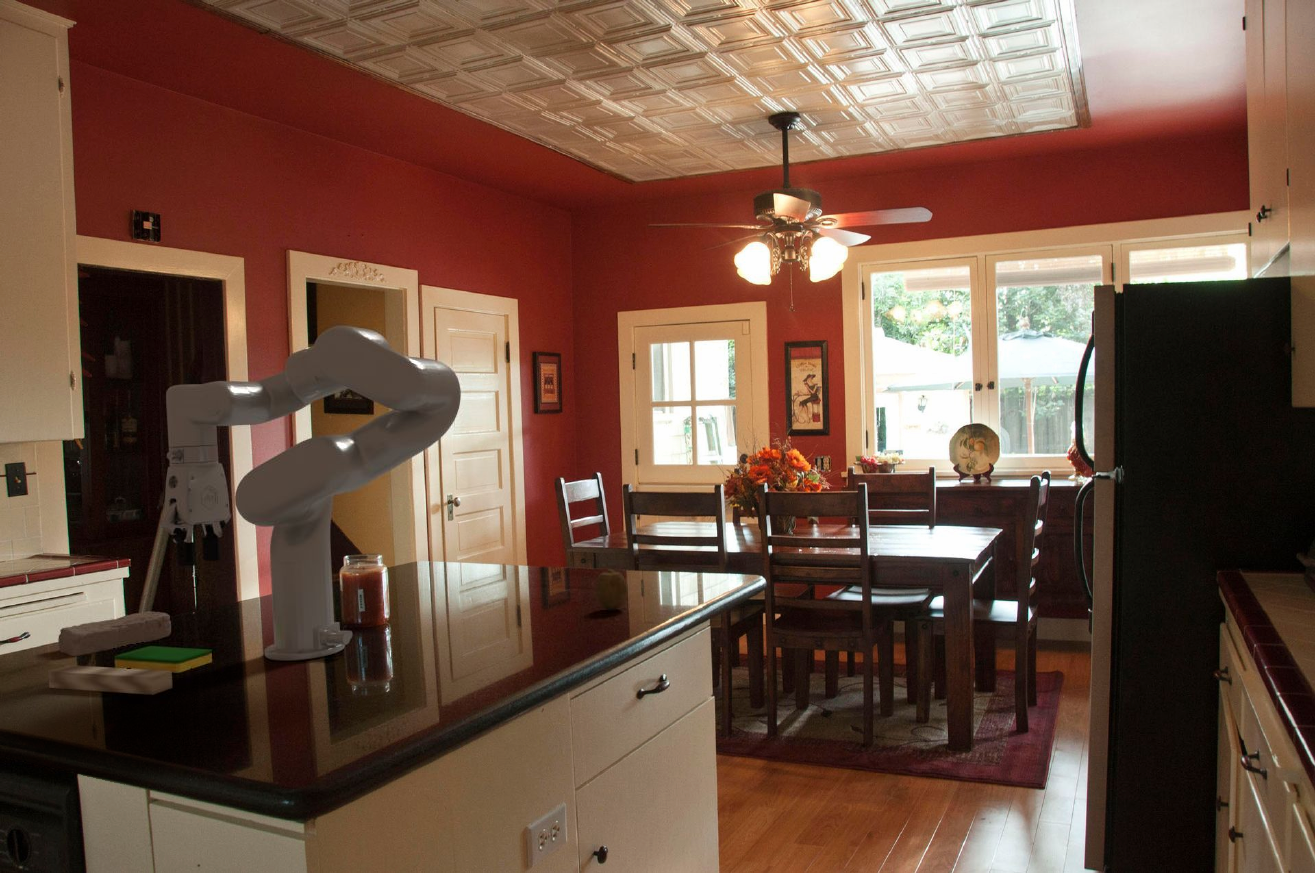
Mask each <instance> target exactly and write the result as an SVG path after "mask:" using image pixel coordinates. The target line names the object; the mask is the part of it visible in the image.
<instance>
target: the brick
mask: <svg viewBox="0 0 1315 873" xmlns="http://www.w3.org/2000/svg"><path fill="white" fill-rule="evenodd" d="M170 618H171V617H170V615H169V614H168V613H166V612H160V611H143V612H138V613H131V614H128V615H124V616H121V617H117V618H115V619H114V618H113V619H112V618H111V619H107V620H101V621H91V622H85V623H81V624H78V625H72V626H66V627H63V628H61V629H60V632H59V633H60V634H59V635H58V639H57V641H58V642H57V643H58V649H59V651H60V652H61V653H64V654H67V655H68V656H71V657H80V656H83V655H90V654H95V653H98V652H99V653H100V652H103V651H109V650H114V649H113V648H115V649H119V648H122V647H121V646H125V647H127V646H126V645H129V644H133V645H137V644H136V643H140V644H142V643H141V642H144V643H148V642H154V641H158V640H161V639H163V638H166V637H169V636H170V635H171V632H172V623H171V622H172V621H171V620H170ZM153 640H154V641H153ZM118 647H119V648H118Z"/></svg>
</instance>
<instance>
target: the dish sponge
mask: <svg viewBox="0 0 1315 873" xmlns="http://www.w3.org/2000/svg"><path fill="white" fill-rule="evenodd" d="M212 657H213V655H212V649H204V648H203V649H202V648H189V647H188V648H186V647H185V648H184V647H171V646H154V645H149V646H145V647H141V648H139V649H135V650H131V651H127V652H123V653H121V654H117V655H114V668H131V669H144V670H162V671H172V673H174V674H177V673H182V672H185V671H188V670H191V668H192V669H195V668H198V667H200V666H204V665H206V664H207V665H208V664H210V663H212V662H213V658H212Z"/></svg>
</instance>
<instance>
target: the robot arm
mask: <svg viewBox="0 0 1315 873" xmlns="http://www.w3.org/2000/svg"><path fill="white" fill-rule="evenodd" d="M459 380H460V379H459V378H458V376H457V374H456V373H455V371H454V370H453V369H452V368H451V367H450V366H448V365H447V364H445V363H443V362H441V361H439V360H437V359H432V358H425V357H417V356H416V357H415V356H407V355H405V354H404V355H403V354H402V353H399V352H398V351H395V350H393V349H392V348H391V346H390V343H389V342H388V341H387V339H386V338H385V337H384V336H383V335H382V334H380V333H379V332H377V331H375V330H372V329H368V328H363V327H357V326H350V325H336V326H332V327H330V328H327V329H326V330H324V331H322V333H320V335H318V337H317V338H316V340H315V342H314V343H313V345H312V346H309V347H306V348H304V349H301V350H298V351H296V352H293V353H291V354H290V355H288V357H287V359H286V361H285V370H283V371H281V372H279V373H276V374H274V375H271V376H268V377H265V378H262V379H260V380H255V381H239V380H237V381H236V380H235V381H234V380H233V381H232V380H229V381H227V380H217V381H211V382H206V383H202V384H194V383H193V384H191V383H190V384H176V385H173V386H170V387H169V388H168V389H167V390H166V395H165V398H166V400H165V401H166V418H167V422H166V423H167V438H168V452H167V453H166V458H167V459H168V460H169V466H168V467H167V471H166V472H167V473H166V480H165V491H164V492H165V497H164V498H165V500H164V501H165V504H164V505H165V515H164V517H163V519H162V521H161V523H160V527H161V529H162V530H164V531H165V532H167V533H168V535H169V536H170V537H171V538H172V541H173V542H174V543H175V544H176V550H177V564H178V566H179V567H195V565H196V563H197V561H196V559H197V558H196V543H195V541H192V539H193V533H194V528H195V527H194V526H195V525H201V526H202V529H203V532H204V536H205V537H202V541H201V542H202V558H203V561H206V562H217V561H219V562H220V561H221V544H220V543H221V541H220V538H221V537H222V535H223V531H224V528H225V527H226V525H227V523H228V522H229V521H230V519H231V518H232V513H231V512H230V501H229V500H230V499H229V491H228V485H227V479H226V474H225V471H224V470H225V469H224V467H223V464H222V462H221V463H220V462H219V450H218V448H219V447H218V433H217V432H218V430H217V426H218V427H230V426H231V427H233V426H254V425H261V424H264V423H265V424H266V423H269V422H271V421H274V420H277V419H280V418H283V417H286V416H288V415H290V414H294V413H296V412H299V411H300V410H302V409H304V408H305V407H307V406H310V405H311V404H312V403H313V402H315V401H317V400H320V399H323V398H326V397H329V396H331V395H334V394H337V393H339V392H343V391H345V390H348V389H349V390H351V391H352V392H355V393H357V394H358V395H361V396H363V397H364V398H367V399H368V400H371V401H373V402H374V403H377V404H379V405H381V406H383V407H385V408H388V409H391V410H389V411H388V412H385V413H383V414H380V415H379V416H377V417H375V418H374V419H372V420H370V421H369V422H367V423H366V424H363V425H361V426H360V427H358V428H356V429H353V430H351V431H350V432H347V433H338V434H328V435H317V436H313V437H310V438H306V439H305V440H302V441H300V442H298V443H296V444H294V445H292V446H290V447H289V448H287V449H286V450H284V451H282V452H280V453H279V454H277V455H275V456H273V457H271V458H270V459H267V460H266V461H265V462H263V463H261V464H259V465H257V466H256V467H254V468H252V469H250V470H249V472H247V473H246V474H245V475H244V476H243V477H242V479H241V480H240V481H239V483H238V484H237V487H236V490H235V496H234V498H235V499H234V502H235V506H236V510H237V512H238V514H239V515H240V516H241V517H242V518H243V520H244V521H246V522H248V523H250V524H252V525H255V526H258V527H264V528H265V527H268V528H269V527H273V528H272V531H271V536H270V544H269V561H270V581H271V582H270V584H271V585H270V586H271V600H272V602H271V604H272V619H273V624H272V625H273V639H274V640H273V641H274V643H273V644H271V645H269V646H267V647H266V648H265V649H264V656H265V658H266V659H269V660H272V661H273V660H274V661H284V662H285V661H286V662H287V661H289V662H291V661H301V660H310V659H317V658H321V657H322V658H323V657H326V656H330V655H333V654H337V653H339V652H340V651H342V650H343V649H345V647H346V645H348V644H349V643H350V641H351V639H352V637H353V631H352V630H341V629H340V627H341V626H340V623H341V622H339V621H338V622H337V621H335V614H334V597H333V577H332V576H333V575H332V572H333V571H332V554H331V550H332V549H331V524H332V523H331V522H332V512H333V506H334V496H335V495H341V494H346V493H351V492H354V491H356V490H357V491H358V490H360V489H362V488H363V487H365V486H366V485H368V484H369V483H371V482H373V481H375V480H376V479H378V478H379V477H382V476H383V475H384V474H387V473H389V472H390V471H392V470H393V469H395V468H397V467H399V466H401V464H403V463H405V462H407V461H408V460H411V459H412V458H413V457H415V456H417V455H419V454H421V453H422V452H425V450H427V449H428V448H430V447H432V446H434V444H435V443H436V442H438V441H440V440H441V439H442V437H443V436H444V435H445V434H446V433H447V432H448V431H449V430H450V428H451V427H452V425H453V423H454V422H455V420H456V418H457V415H458V413H459V409H460V405H461V399H462V398H461V397H462V391H461V390H462V388H461V384H460V382H459ZM184 529H185V530H184Z"/></svg>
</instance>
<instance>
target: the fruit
mask: <svg viewBox="0 0 1315 873" xmlns="http://www.w3.org/2000/svg"><path fill="white" fill-rule="evenodd" d="M595 581H596V582H595V584H594V594H595V598H596V601H597V602H598V604H599V605H600V606H601V607H602V608H604V609H606V610H607V611H608V612H614V611H616V610H617V609H619V608H620V607H621V606H623V605H624V603H625V601H626V599H627V596H628V585H627V582H626V579H625V577H624V576H623V574H622V573H621V572H618V571H614V569H612V568H608V570H606V571H604V572H601V573H600V574H599V575H598V577H597V579H596V580H595Z"/></svg>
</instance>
